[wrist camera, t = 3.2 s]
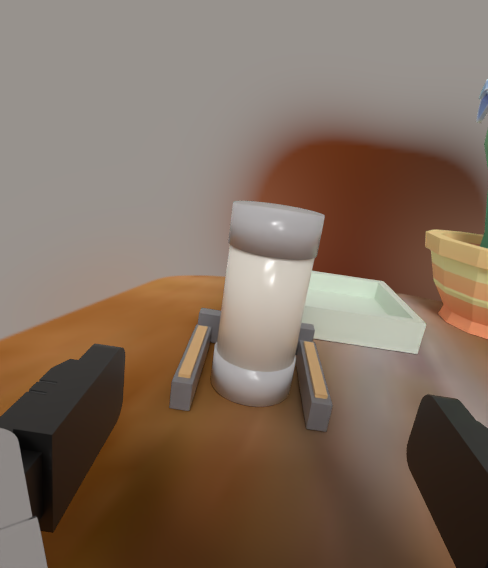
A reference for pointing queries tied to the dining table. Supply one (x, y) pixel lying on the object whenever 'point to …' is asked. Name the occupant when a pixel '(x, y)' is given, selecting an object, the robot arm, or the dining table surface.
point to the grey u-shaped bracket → (306, 361)
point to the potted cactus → (463, 266)
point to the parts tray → (361, 313)
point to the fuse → (263, 300)
